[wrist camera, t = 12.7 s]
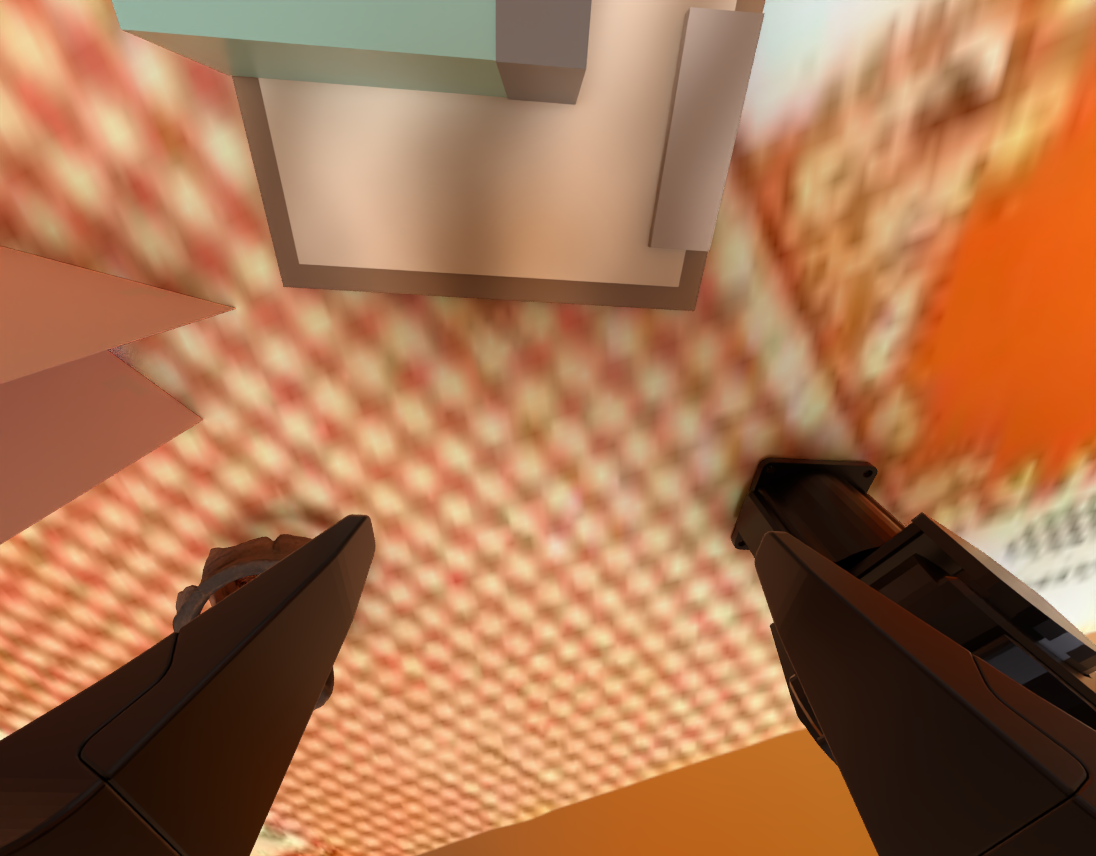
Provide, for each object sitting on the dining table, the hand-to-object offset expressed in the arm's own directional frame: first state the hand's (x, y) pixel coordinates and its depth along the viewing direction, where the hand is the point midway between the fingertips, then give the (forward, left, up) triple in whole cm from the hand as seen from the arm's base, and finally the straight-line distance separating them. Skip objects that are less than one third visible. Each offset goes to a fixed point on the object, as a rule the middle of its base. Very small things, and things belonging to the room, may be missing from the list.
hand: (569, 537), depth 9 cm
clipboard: (+3, -9, -12) cm, 15 cm away
